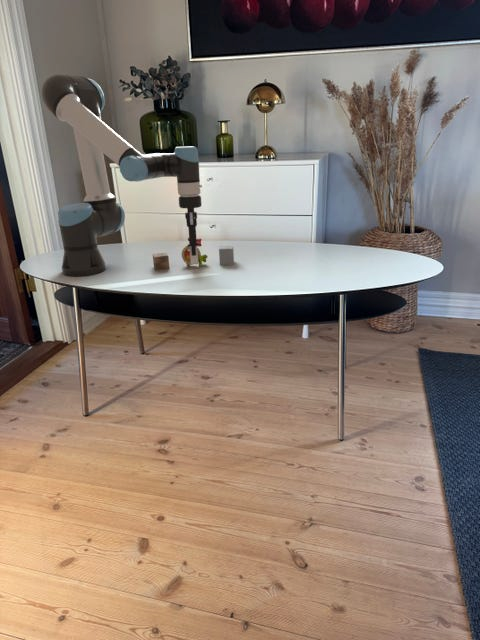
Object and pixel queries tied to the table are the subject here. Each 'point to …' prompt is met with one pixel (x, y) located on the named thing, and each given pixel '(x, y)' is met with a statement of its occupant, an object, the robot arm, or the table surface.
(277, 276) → the table surface
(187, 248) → the bird rattle
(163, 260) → the walnut block
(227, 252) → the grey block
